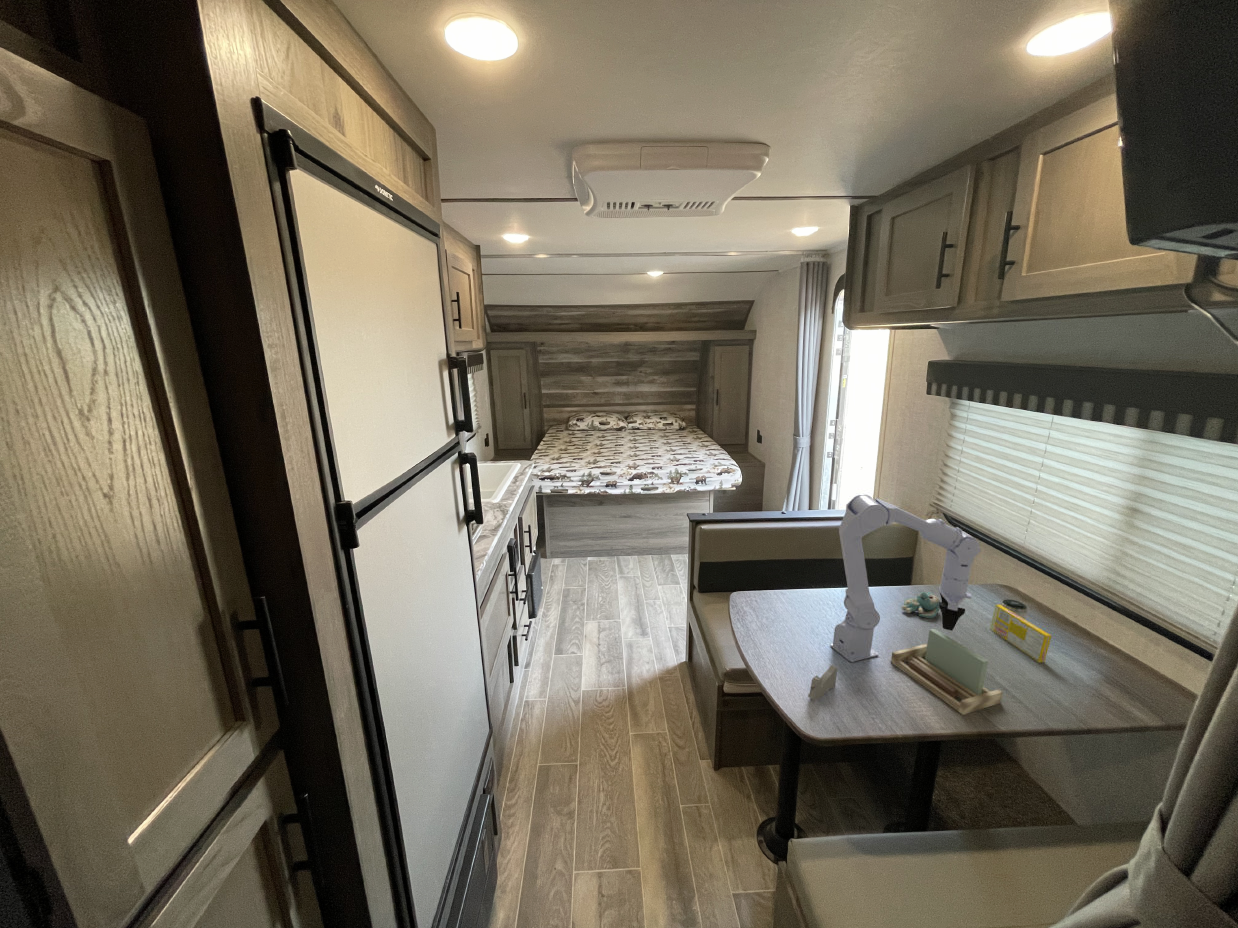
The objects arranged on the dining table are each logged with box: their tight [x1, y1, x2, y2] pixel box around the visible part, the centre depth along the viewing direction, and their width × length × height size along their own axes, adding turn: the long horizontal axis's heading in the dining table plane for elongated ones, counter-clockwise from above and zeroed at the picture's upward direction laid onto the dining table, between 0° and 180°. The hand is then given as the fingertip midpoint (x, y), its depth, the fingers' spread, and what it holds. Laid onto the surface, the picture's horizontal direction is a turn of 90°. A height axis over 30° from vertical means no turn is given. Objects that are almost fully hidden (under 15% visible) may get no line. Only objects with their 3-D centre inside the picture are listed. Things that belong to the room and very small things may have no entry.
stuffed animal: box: [901, 591, 941, 619], centre depth 153 cm, size 11×7×12 cm
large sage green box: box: [924, 628, 989, 695], centre depth 121 cm, size 2×14×10 cm, turn 18°
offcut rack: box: [890, 643, 1003, 716], centre depth 121 cm, size 12×20×3 cm, turn 18°
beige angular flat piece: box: [807, 664, 839, 701], centre depth 117 cm, size 6×1×10 cm
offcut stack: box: [908, 660, 958, 699], centre depth 120 cm, size 2×12×3 cm, turn 18°
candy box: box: [989, 604, 1052, 663], centre depth 135 cm, size 16×2×8 cm, turn 4°
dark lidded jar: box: [1000, 598, 1029, 621], centre depth 144 cm, size 6×6×8 cm
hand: (947, 622), depth 129 cm, fingers open, 7 cm apart
